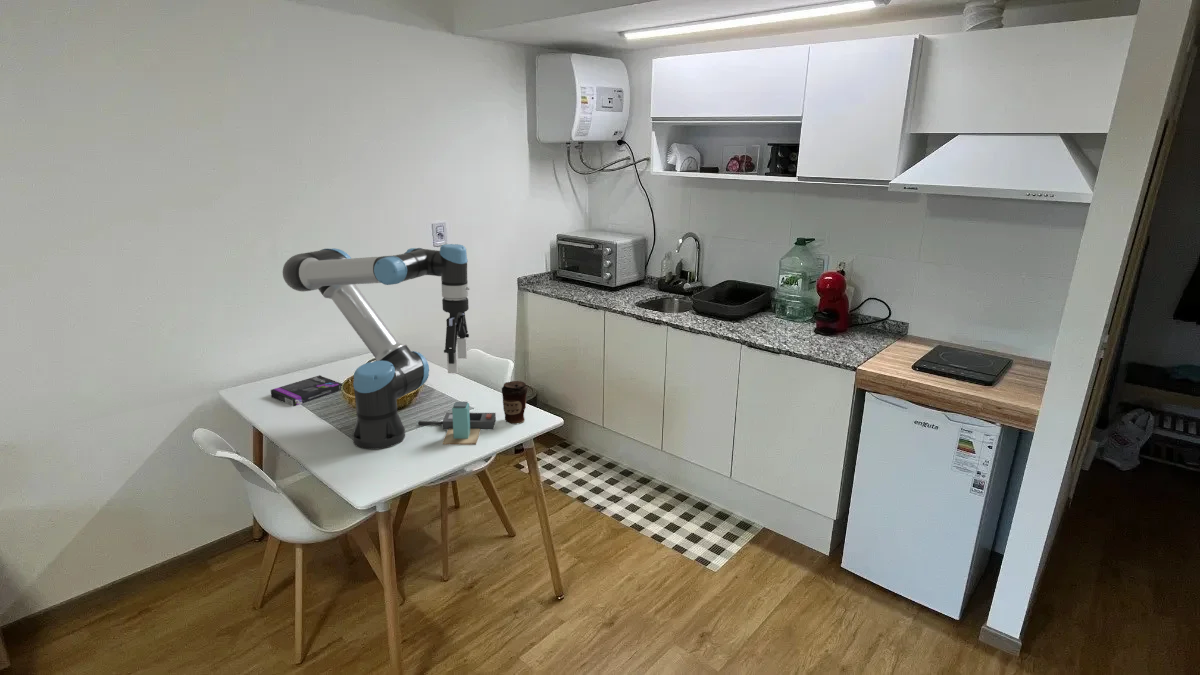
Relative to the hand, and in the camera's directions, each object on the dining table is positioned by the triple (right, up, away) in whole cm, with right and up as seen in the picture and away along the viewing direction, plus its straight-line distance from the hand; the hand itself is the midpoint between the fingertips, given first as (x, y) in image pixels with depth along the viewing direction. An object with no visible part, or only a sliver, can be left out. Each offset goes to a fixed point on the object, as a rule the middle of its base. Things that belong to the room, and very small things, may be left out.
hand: (457, 365), depth 191 cm
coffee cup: (+15, -19, +17) cm, 30 cm away
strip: (-3, -20, +12) cm, 24 cm away
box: (-62, -12, +35) cm, 72 cm away
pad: (+1, -23, +4) cm, 23 cm away
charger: (+1, -22, +4) cm, 22 cm away
